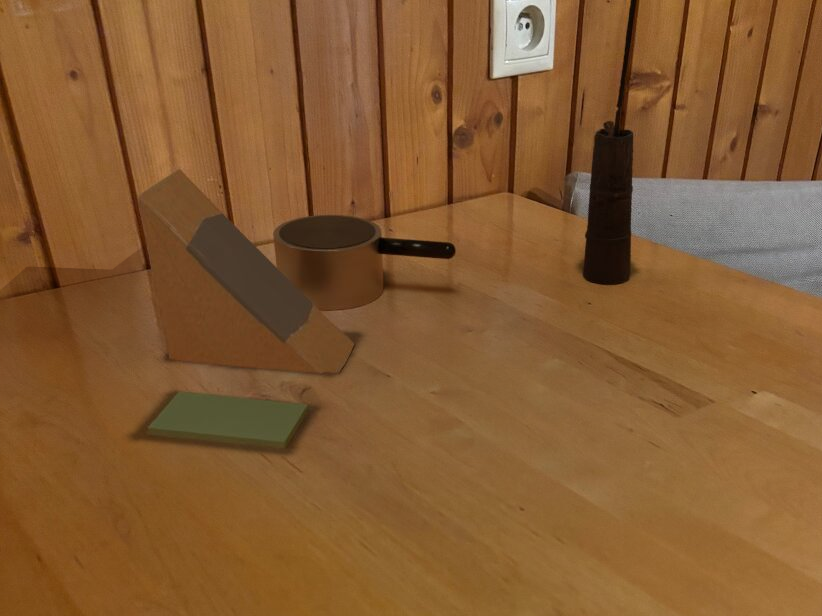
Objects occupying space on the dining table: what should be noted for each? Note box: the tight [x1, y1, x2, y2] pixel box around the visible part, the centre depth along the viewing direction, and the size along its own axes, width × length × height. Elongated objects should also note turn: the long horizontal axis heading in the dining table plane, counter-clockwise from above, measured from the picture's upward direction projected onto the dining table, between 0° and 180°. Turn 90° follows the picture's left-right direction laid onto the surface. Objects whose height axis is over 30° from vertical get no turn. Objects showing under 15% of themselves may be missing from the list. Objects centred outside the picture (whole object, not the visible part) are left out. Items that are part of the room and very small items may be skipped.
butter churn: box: [582, 0, 637, 285], centre depth 95 cm, size 9×10×28 cm
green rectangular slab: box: [147, 391, 309, 449], centre depth 75 cm, size 12×7×2 cm, turn 80°
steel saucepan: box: [272, 214, 457, 311], centre depth 97 cm, size 19×11×6 cm, turn 80°
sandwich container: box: [137, 168, 355, 374], centre depth 82 cm, size 9×15×15 cm, turn 80°
